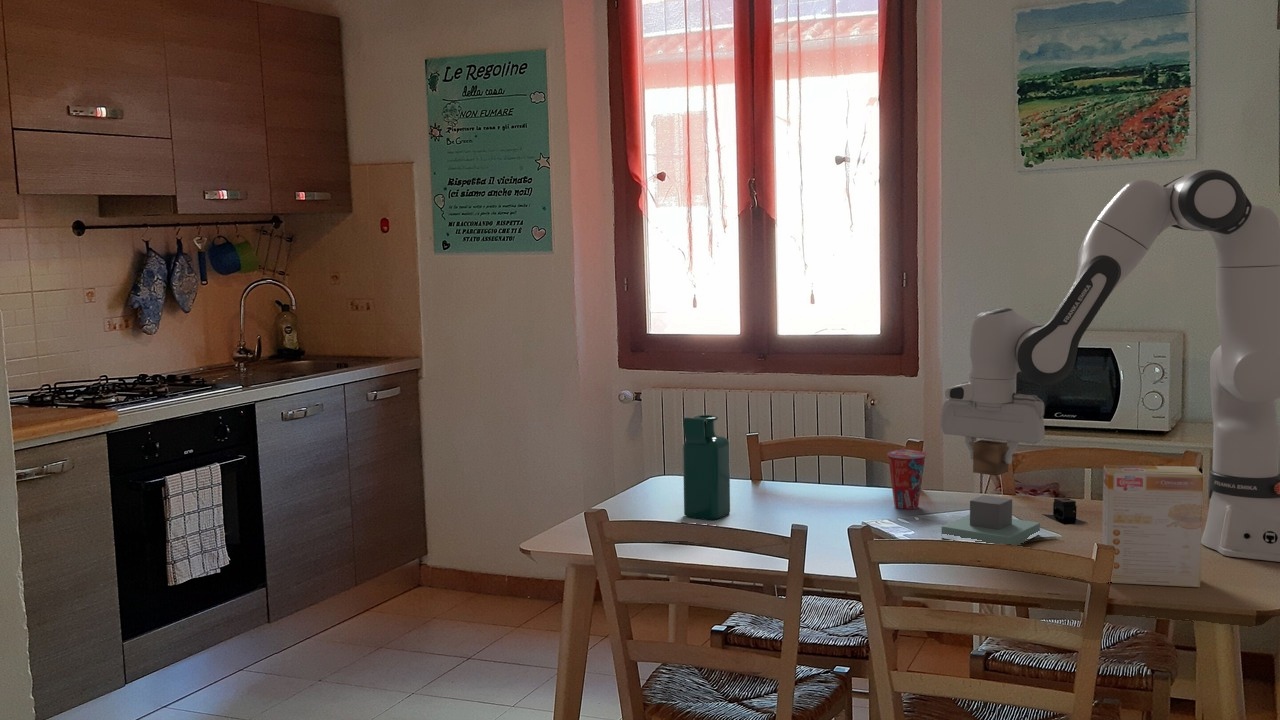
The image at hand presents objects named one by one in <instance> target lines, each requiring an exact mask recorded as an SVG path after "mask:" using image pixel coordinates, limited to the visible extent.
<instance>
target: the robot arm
mask: <svg viewBox="0 0 1280 720" xmlns="http://www.w3.org/2000/svg"><path fill="white" fill-rule="evenodd" d="M1170 227H1172V228H1176V229H1180V230H1184V231H1192V232H1207V233H1209V235H1211V236H1212V239H1213V241H1214V243H1215V249H1216V256H1215V311H1216V314H1217V321H1218V330H1219V339H1220V344H1219V346H1218V347H1216V348H1215V349H1214V351H1213V352H1212V354H1211V356H1210V361H1209V377H1210V379H1209V381H1210V383H1209V384H1210V401H1211V403H1210V404H1211V411H1212V412H1211V414H1212V424H1213V430H1212V431H1213V432H1212V433H1213V437H1212V439H1213V440H1212V441H1213V442H1212V443H1213V444H1212V469H1210V470H1209V476H1208V485H1207V486H1208V489H1207V490H1208V498H1209V507H1208V512H1207V518H1206V522H1205V526H1204V530H1203V531H1202V536H1201V545H1203V546H1204V547H1207V548H1209V549H1212V550H1215V551H1217V552H1219V553H1220V555H1223V556H1226V557H1230V558H1231V557H1232V558H1233V557H1234V558H1242V559H1249V560H1250V559H1251V560H1261V561H1269V562H1279V563H1280V473H1279V472H1280V471H1279V469H1280V468H1279V467H1280V427H1279V423H1278V414H1277V413H1278V412H1277V406H1276V400H1278V399H1279V398H1280V221H1279V218H1278V216H1277V214H1276V213H1275V212H1274V210H1271V209H1270V208H1268V207H1265V206H1262V205H1258V204H1252V203H1251V201H1250V199H1249V197H1247V195H1246V193H1245V191H1244V190H1243V188H1242V186H1241V184H1240V183H1239V182H1238V181H1237V179H1236V178H1235V177H1234V176H1232V175H1231V173H1227V172H1225V171H1223V170H1220V169H1200V170H1195V171H1191V172H1189V173H1186V174H1185V175H1182V176H1179V177H1177V178H1175V179H1173V180H1172V181H1170V182H1167V183H1166V184H1164V185H1160V184H1159V183H1157V182H1155V181H1152V180H1148V179H1141V178H1139V179H1134V180H1130V181H1129V182H1127V183H1126V184H1125V185H1124V186H1123V187H1122V188H1121V189H1120V190H1118V192H1117V193H1116V194H1115V195H1114V196H1113V197H1112V198H1111V199H1110V200H1109V202H1108V203H1107V204H1105V206H1104V208H1103V209H1102V210H1101V211H1100V213H1099V214H1098V215H1097V217H1096V219H1095V220H1094V221H1093V222H1092V224H1091V226H1090V227H1089V229H1088V230H1087V232H1086V234H1085V236H1084V238H1083V240H1082V242H1081V245H1080V247H1079V249H1078V252H1077V271H1076V276H1075V278H1074V282H1073V284H1072V286H1071V287H1070V289H1069V291H1068V292H1067V294H1066V295H1065V297H1064V298H1063V299H1062V302H1061V303H1060V304H1059V306H1058V307H1057V309H1056V310H1055V312H1054V313H1053V315H1052V316H1051V318H1050V319H1049V321H1048V322H1047V323H1045V324H1041V323H1038V322H1035V321H1033V320H1030V319H1028V318H1027V317H1024V316H1023V315H1021V314H1020V313H1018V312H1017V311H1015V310H1014V309H1013V308H1009V307H1003V308H993V309H989V310H988V309H987V310H985V311H981V312H980V313H978V314H977V315H976V316H975V317H974V318H973V320H972V323H971V329H970V336H969V337H970V338H969V357H970V362H971V366H970V367H971V368H970V370H969V373H968V375H969V376H968V377H969V378H968V379H969V380H968V381H967V382H966V381H965V382H963V383H960V384H957V385H954V386H951V387H947V388H946V389H945V390H944V396H945V397H944V398H945V399H946V400H945V401H944V402H943V404H942V408H941V415H940V429H941V431H942V433H943V434H944V435H951V436H959V437H960V436H961V437H965V438H964V442H965V444H966V446H967V448H968V450H969V452H970V453H969V454H970V459H971V460H972V461H973V447H974V442H976V441H977V438H978V439H991V440H1000V441H1007V447H1009V450H1008V451H1007V453H1005V454H1002V455H1001V458H1002V460H1001V462H1002V463H1004V464H1008V465H1011V464H1012V463H1013V455H1014V453H1015V452H1016V450H1017V449H1018V447H1019V444H1021V443H1022V444H1029V445H1030V444H1031V445H1037V444H1039V443H1041V442H1042V441H1043V440H1044V439H1045V422H1044V416H1045V403H1044V400H1042V399H1041V398H1039V397H1038V396H1037V395H1035V394H1023V393H1017V374H1018V373H1022V374H1023V376H1024V377H1025V378H1026V379H1028V380H1029V381H1031V382H1032V383H1033V382H1034V383H1035V384H1039V385H1053V384H1056V383H1059V382H1061V381H1063V380H1065V378H1067V377H1068V376H1069V374H1071V372H1072V371H1073V369H1074V366H1075V363H1076V359H1077V353H1078V349H1079V344H1080V341H1081V340H1082V337H1083V336H1084V334H1085V332H1086V331H1087V330H1088V328H1089V326H1090V324H1091V323H1093V322H1092V321H1093V320H1094V319H1095V317H1096V316H1097V314H1098V313H1099V312H1100V310H1101V308H1102V306H1103V305H1104V304H1105V302H1106V301H1107V299H1108V298H1109V297H1110V295H1111V294H1112V293H1113V292H1114V291H1115V290H1116V289H1117V288H1118V286H1119V285H1120V284H1121V283H1122V282H1123V281H1124V280H1125V279H1126V278H1127V277H1128V276H1129V274H1131V272H1133V270H1134V269H1135V268H1136V267H1137V266H1138V264H1140V262H1142V260H1143V258H1144V257H1145V256H1146V255H1147V253H1148V251H1149V250H1150V248H1151V247H1152V246H1153V245H1154V242H1155V241H1156V239H1157V238H1158V237H1159V236H1160V234H1162V233H1163V232H1164V231H1165V230H1166V229H1168V228H1170Z"/></svg>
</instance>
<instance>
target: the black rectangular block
mask: <svg viewBox="0 0 1280 720" xmlns="http://www.w3.org/2000/svg"><path fill="white" fill-rule="evenodd" d="M1052 503H1053V504H1052V505H1053V506H1052V512H1049V513H1041V515H1042V516H1044V517H1046V518H1048V519H1051V520H1053V521H1055V522H1057V523H1059V524H1061V525H1065V526H1066V525H1081V524H1089V522H1088V521H1085V520H1083V519H1080V518H1078V517H1077V505H1076V503H1077V502H1076V500H1073V499H1071V498H1069V497H1054V498H1053V502H1052Z"/></svg>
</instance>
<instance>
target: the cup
mask: <svg viewBox="0 0 1280 720" xmlns="http://www.w3.org/2000/svg"><path fill="white" fill-rule="evenodd" d="M886 455H887V456H888V466H889V473H890V482H891V488H892V496H893V497H892V498H893V504H894V508H895V509H900V510H915V509H918V508H919V504H920V498H921V491H922V483H923V477H924V476H923V474H924V466H925V458H926V456H927V453H926V452H923V451H919V450H913V449H895V450H891V451H887V453H886Z"/></svg>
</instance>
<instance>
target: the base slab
mask: <svg viewBox="0 0 1280 720" xmlns="http://www.w3.org/2000/svg"><path fill="white" fill-rule="evenodd" d="M1040 528H1041V522H1038V521H1037V522H1036V521H1029V520H1023V519H1017V518H1016V519H1015V518H1012V524H1011V525H1009V526H1006V527H1004V528H1002V529H1000V530H995V529H989V528H983V527H977V526H970V514H968V515H965V516H963V517H960V518H958V519H955V520H953V521H951V522H949V523H947V524H943V525H942V526H941V535H942V534H947V535H948V534H949V535H954V536H960V537H961V538H971V539H977V540H982V541H975V542H986V543H1003V544H1011V545H1019V546H1021V545H1022V544H1020V543H1023V544H1025V543H1024V541H1025V539H1027V538H1028V537H1029V536H1030V535H1032V534H1034V533H1036V532H1038V531H1041V530H1040Z"/></svg>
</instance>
